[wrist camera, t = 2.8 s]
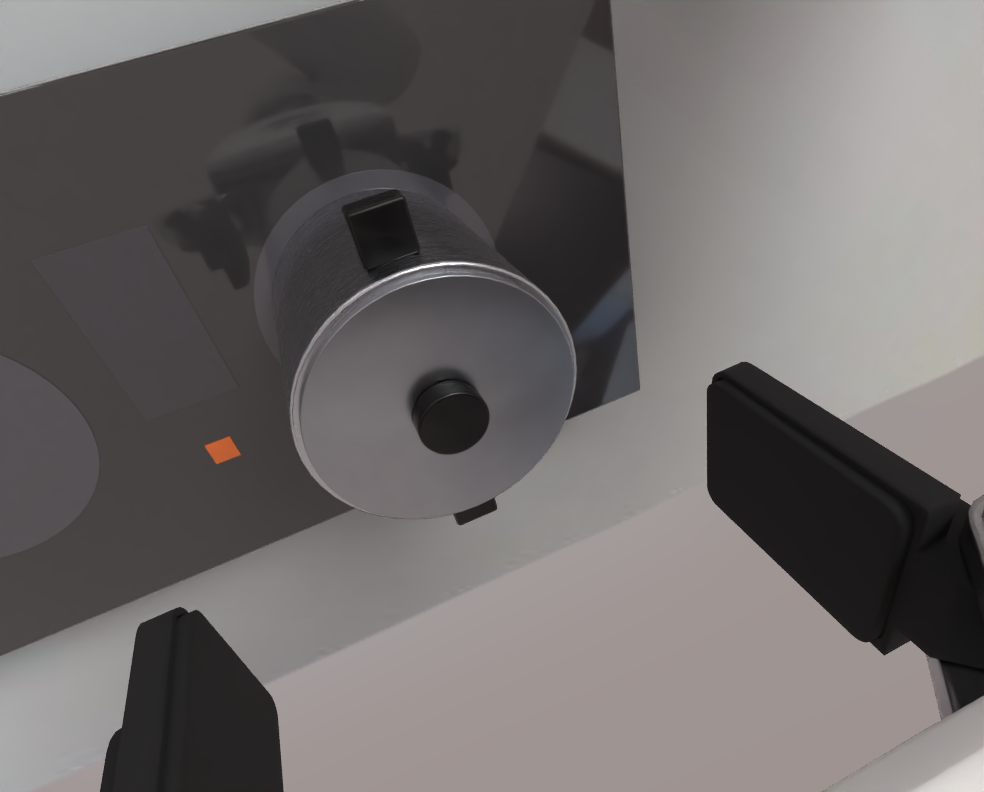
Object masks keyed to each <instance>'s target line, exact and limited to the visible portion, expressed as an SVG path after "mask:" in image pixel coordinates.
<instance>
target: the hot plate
mask: <svg viewBox="0 0 984 792" xmlns="http://www.w3.org/2000/svg"><path fill="white" fill-rule="evenodd" d="M376 189H398V190H402V191H408V192H413V193H416V194H419V195H422V196H425V197H427V198H430V199H432V200H434V201H436V202H438V203H440V204H441V205H443V206H444V207H446V208H447V209H449V210H450V211H451V212H452V213H454V214H455V215H456V216H457V217H458V218H459V219H460V220H462V221H463V222H464V223H465V224H466V225H467V226H468V227H470V228H471V229H472V230H473V231H474V232H475V233H476V234H478V235H479V236H480V237H481V238H482V239H483V240H484V241H486V242H487V243H488V244H489V245H490V246H491V247H492V248H493V249H495V250H496V251H497V252H498V253H499V254H500V255H501V256H503V257H504V258H505V259H506V260H507V261H508V262H509V263H511V264H512V265H513V266H514V267H515V268H516V269H517V270H519V271H520V272H521V273H522V274H523V275H524V276H525V277H527V278H528V279H529V280H530V281H531V282H532V283H533V284H535V285H536V286H537V287H538V288H539V289H540V290H541V291H543V292H544V293H545V294H546V295H547V296H548V297H549V298H550V299H551V301H552V302H553V303H554V304H555V305H556V307H557V308H558V309H559V311H560V313H561V314H562V316H563V318H564V319H565V321H566V323H567V326H568V328H569V331H570V333H571V336H572V340H573V344H574V348H575V353H576V366H577V372H576V385H575V390H574V396H573V400H572V403H571V406H570V409H569V412H568V415H567V417H566V420H569V419H571V418H574V417H576V416H578V415H581V414H583V413H586V412H588V411H590V410H593V409H595V408H598V407H600V406H602V405H605V404H607V403H610V402H612V401H614V400H617V399H619V398H622V397H624V396H626V395H629V394H631V393H634V392H636V391H638V390H640V381H639V368H638V355H637V342H636V329H635V315H634V302H633V289H632V276H631V263H630V250H629V237H628V224H627V211H626V197H625V184H624V171H623V158H622V145H621V132H620V119H619V106H618V93H617V79H616V66H615V53H614V40H613V27H612V14H611V1H610V0H346V1H342V2H339V3H335V4H331V5H327V6H324V7H320V8H316V9H312V10H309V11H305V12H301V13H297V14H293V15H290V16H286V17H282V18H278V19H275V20H271V21H267V22H263V23H260V24H256V25H252V26H248V27H245V28H241V29H237V30H233V31H230V32H226V33H222V34H218V35H214V36H211V37H207V38H203V39H199V40H196V41H192V42H188V43H184V44H181V45H177V46H173V47H169V48H166V49H162V50H158V51H154V52H151V53H147V54H143V55H139V56H135V57H132V58H128V59H124V60H120V61H117V62H113V63H109V64H105V65H102V66H98V67H94V68H90V69H87V70H83V71H79V72H75V73H72V74H68V75H64V76H60V77H56V78H53V79H49V80H45V81H41V82H38V83H34V84H30V85H26V86H23V87H19V88H15V89H11V90H8V91H4V92H0V656H2V655H5V654H7V653H10V652H12V651H14V650H17V649H19V648H22V647H24V646H26V645H29V644H31V643H34V642H36V641H38V640H41V639H43V638H46V637H48V636H50V635H53V634H55V633H58V632H60V631H62V630H65V629H67V628H70V627H72V626H74V625H77V624H79V623H82V622H84V621H86V620H89V619H91V618H94V617H96V616H98V615H101V614H103V613H106V612H108V611H110V610H113V609H115V608H118V607H120V606H122V605H125V604H127V603H130V602H132V601H134V600H137V599H139V598H142V597H144V596H146V595H149V594H151V593H154V592H156V591H158V590H161V589H163V588H166V587H168V586H170V585H173V584H175V583H178V582H180V581H182V580H185V579H187V578H190V577H192V576H194V575H197V574H199V573H202V572H204V571H206V570H209V569H211V568H214V567H216V566H218V565H221V564H223V563H226V562H228V561H230V560H233V559H235V558H238V557H240V556H242V555H245V554H247V553H250V552H252V551H254V550H257V549H259V548H262V547H264V546H266V545H269V544H271V543H274V542H276V541H278V540H281V539H283V538H286V537H288V536H290V535H293V534H295V533H298V532H300V531H302V530H305V529H307V528H310V527H312V526H314V525H317V524H319V523H322V522H324V521H326V520H329V519H331V518H334V517H336V516H338V515H341V514H343V513H346V512H348V511H350V510H353V509H355V508H354V507H351V506H349V505H347V504H345V503H344V502H342V501H340V500H339V499H337V498H335V497H334V496H333V495H331V494H330V493H329V492H328V491H326V490H325V489H324V488H323V487H321V486H320V485H319V483H318V482H317V481H316V480H315V479H314V478H313V477H312V476H311V475H310V473H309V472H308V470H307V469H306V467H305V466H304V464H303V463H302V461H301V459H300V457H299V455H298V453H297V450H296V448H295V446H294V442H293V438H292V435H291V431H290V425H289V418H288V411H287V403H286V396H285V389H284V382H283V375H282V367H281V360H280V353H279V346H278V339H277V331H276V324H275V317H274V309H273V298H272V296H273V282H274V277H275V272H276V268H277V265H278V263H279V260H280V257H281V254H282V253H283V251H284V249H285V247H286V245H287V243H288V241H289V240H290V239H291V237H292V236H293V235H294V233H295V232H296V231H297V229H298V228H299V227H300V226H301V225H302V224H303V223H304V222H305V221H306V220H307V219H308V218H309V217H310V216H312V215H313V214H314V213H316V212H317V211H318V210H320V209H321V208H322V207H324V206H326V205H328V204H330V203H331V202H333V201H335V200H337V199H340V198H342V197H345V196H347V195H350V194H354V193H358V192H362V191H367V190H376ZM566 420H565V421H566Z"/></svg>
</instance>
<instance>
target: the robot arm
mask: <svg viewBox="0 0 984 792" xmlns="http://www.w3.org/2000/svg"><path fill="white" fill-rule="evenodd" d="M707 487H708V492H709V494H710V496H711V498H712V500H713V501H714V503H715V504H716V505H717V506H718V507H719V508H720V509H721V510H722V511H723V512H724V513H725V514H726V515H727V516H728V517H729V518H730V519H731V520H733V521H734V522H735V523H736V524H737V525H738V526H739V527H740V528H741V529H742V530H743V531H744V532H745V533H746V534H747V535H748V536H749V537H750V538H751V539H752V540H753V541H754V542H756V543H757V544H758V545H759V546H760V547H761V548H762V549H763V550H764V551H765V552H766V553H767V554H768V555H769V556H770V557H771V558H772V559H773V560H774V561H775V562H777V564H778V565H780V566H781V567H782V568H783V569H784V570H785V571H786V572H787V573H788V574H789V575H790V576H791V577H792V578H793V579H794V580H795V581H796V582H797V583H798V584H799V585H800V586H801V587H803V588H804V589H805V590H806V591H807V592H808V593H809V594H810V595H811V596H812V597H813V598H814V599H815V600H816V601H817V602H818V603H819V604H820V605H821V606H822V607H823V608H824V609H826V611H828V612H829V613H830V614H831V615H832V616H833V617H834V618H835V619H836V620H837V621H838V622H839V623H840V624H841V625H842V626H843V627H844V628H846V630H848V632H850V634H852V635H853V636H854V637H855V638H857V639H858V640H860V641H862V642H870V643H872V644H873V645H874V646H875V647H876V648H877V649H878V650H879V651H880V652H881V653H882V654H883V655H886V654H888V653H889V652H891V651H893V650H895V649H896V648H898V647H900V646H902V645H903V644H905V643H907V642H909V641H910V640H911V641H912V642H913V643H914V644H915V645H916V646H918V647H919V648H920V649H921V650H922V651H923V652H924V653H925V654H926V657H927V661H928V665H929V670H930V674H931V678H932V683H933V687H934V691H935V696H936V700H937V704H938V708H939V713H940V717H941V720H940V721H939V722H937V723H935V724H933V725H932V726H930V727H928V728H926V729H925V730H923V731H922V732H920V733H918V734H916V735H915V736H913V737H911V738H910V739H908V740H907V741H905V742H903V743H901V744H900V745H898V746H896V747H895V748H893V749H892V750H890V751H888V752H887V753H885V754H883V755H882V756H880V757H878V758H877V759H875V760H873V761H872V762H870V763H868V764H867V765H865V766H863V767H862V768H860V769H859V770H857V771H855V772H853V773H852V774H850V775H849V776H847V777H845V778H843V779H842V780H840V781H838V782H837V783H835V784H833V785H832V786H830V787H828V788H827V789H825V790H823V791H822V792H984V495H982V496H981V497H979V498H978V499H976V500H975V501H973V503H972V505H969V504H968V503H966V502H964V501H963V500H961V499H960V496H961V495H960V494H959V493H957V492H956V491H954V490H952V489H951V488H949V487H948V486H946V485H944V484H943V483H941V482H940V481H938V480H936V479H935V478H933V477H931V476H930V475H928V474H927V473H925V472H924V471H922V470H920V469H919V468H917V467H915V466H914V465H912V464H911V463H909V462H908V461H906V460H904V459H903V458H901V457H900V456H898V455H896V454H895V453H893V452H891V451H890V450H888V449H887V448H885V447H883V446H882V445H880V444H879V443H877V442H875V441H874V440H872V439H871V438H869V437H867V436H866V435H864V434H863V433H861V432H859V431H858V430H856V429H855V428H853V427H852V426H850V425H848V424H847V423H845V422H844V421H842V420H840V419H839V418H837V417H836V416H834V415H832V414H831V413H829V412H828V411H826V410H824V409H823V408H821V407H820V406H818V405H816V404H815V403H813V402H812V401H810V400H808V399H807V398H805V397H804V396H802V395H800V394H799V393H797V392H796V391H794V390H792V389H791V388H789V387H788V386H786V385H784V384H783V383H781V382H780V381H778V380H776V379H775V378H773V377H772V376H770V375H768V374H767V373H765V372H764V371H762V370H760V369H759V368H757V367H756V366H754V365H752V364H750V363H748V362H741V363H739V364H736V365H734V366H732V367H730V368H727V369H725V370H723V371H720V372H718V373H716V374H715V375H714V376H713V379H712V384H710V385H709V386H708V388H707ZM100 792H283V779H282V766H281V752H280V739H279V726H278V715H277V710H276V706H275V703H274V701H273V699H272V697H271V695H270V694H269V693H268V691H267V690H266V689H265V688H264V687H263V685H262V684H261V683H260V682H259V681H258V679H257V678H256V677H255V676H254V675H253V674H252V672H251V671H250V670H249V669H248V668H247V666H246V665H245V664H244V663H243V662H242V661H241V659H240V658H239V657H238V656H237V655H236V653H235V652H234V651H233V650H232V649H231V647H230V646H229V645H228V644H227V643H226V642H225V640H224V639H223V638H222V637H221V636H220V634H219V633H218V632H217V631H216V630H215V629H214V627H213V626H212V625H211V624H210V623H209V621H208V620H207V619H206V618H205V617H204V616H203V614H202V613H201V612H200V611H197V610H195V611H192V612H190V613H188V612H187V611H186V610H185V609H184V608H181V607H178V608H176V609H173V610H171V611H169V612H166V613H164V614H162V615H160V616H157V617H155V618H153V619H150V620H148V621H146V622H143V623H141V624H140V626H139V627H138V629H137V633H136V638H135V645H134V652H133V658H132V665H131V672H130V678H129V685H128V692H127V698H126V705H125V712H124V718H123V725H122V728H121V729H119V730H118V731H116V732H115V734H114V735H113V737H112V738H111V740H110V742H109V746H108V749H107V753H106V759H105V765H104V771H103V777H102V783H101V789H100Z"/></svg>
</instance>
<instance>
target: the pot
mask: <svg viewBox="0 0 984 792" xmlns="http://www.w3.org/2000/svg"><path fill="white" fill-rule="evenodd" d="M272 298H273V309H274V317H275V324H276V331H277V339H278V346H279V353H280V360H281V367H282V375H283V382H284V389H285V396H286V403H287V411H288V418H289V425H290V431H291V435H292V438H293V442H294V446H295V448H296V450H297V453H298V455H299V457H300V459H301V461H302V463H303V464H304V466H305V467H306V469H307V470H308V472H309V473H310V475H311V476H312V477H313V478H314V479H315V480H316V481H317V482H318V483H319V485H320V486H321V487H323V488H324V489H325V490H326V491H328V492H329V493H330V494H331V495H333V496H334V497H335V498H337V499H339V500H340V501H342V502H344V503H345V504H347V505H349V506H351V507H354V508H356V509H359V510H361V511H363V512H367V513H371V514H374V515H378V516H383V517H390V518H400V519H425V518H435V517H441V516H447V515H451V514H453V515H454V517H455V520H456V522H457V524H458V525H463V524H465V523H467V522H470V521H472V520H474V519H477V518H479V517H481V516H484V515H486V514H488V513H490V512H493V511H495V510H496V509H497V504H496V500H495V497H496V496H497V495H499V494H501V493H502V492H504V491H506V490H507V489H509V488H510V487H511V486H513V485H514V484H515V483H517V482H518V481H519V480H520V479H522V478H523V477H524V476H525V475H526V474H527V473H528V472H529V471H530V470H532V468H533V467H534V466H535V465H536V464H537V463H538V462H539V461H540V460H541V459H542V457H543V456H544V455H545V453H546V452H547V451H548V449H549V448H550V447H551V445H552V444H553V442H554V440H555V439H556V437H557V435H558V434H559V432H560V430H561V428H562V426H563V424H564V422H565V420H566V417H567V415H568V412H569V409H570V406H571V403H572V400H573V396H574V390H575V385H576V372H577V366H576V353H575V348H574V344H573V340H572V336H571V333H570V331H569V328H568V326H567V323H566V321H565V319H564V318H563V316H562V314H561V313H560V311H559V309H558V308H557V307H556V305H555V304H554V303H553V302H552V301H551V299H550V298H549V297H548V296H547V295H546V294H545V293H544V292H543V291H541V290H540V289H539V288H538V287H537V286H536V285H535V284H533V283H532V282H531V281H530V280H529V279H528V278H527V277H525V276H524V275H523V274H522V273H521V272H520V271H519V270H517V269H516V268H515V267H514V266H513V265H512V264H511V263H509V262H508V261H507V260H506V259H505V258H504V257H503V256H501V255H500V254H499V253H498V252H497V251H496V250H495V249H493V248H492V247H491V246H490V245H489V244H488V243H487V242H486V241H484V240H483V239H482V238H481V237H480V236H479V235H478V234H476V233H475V232H474V231H473V230H472V229H471V228H470V227H468V226H467V225H466V224H465V223H464V222H463V221H462V220H460V219H459V218H458V217H457V216H456V215H455V214H454V213H452V212H451V211H450V210H449V209H447V208H446V207H444V206H443V205H441V204H440V203H438V202H436V201H434V200H432V199H430V198H427V197H425V196H422V195H419V194H416V193H413V192H408V191H402V190H398V189H376V190H367V191H362V192H358V193H354V194H350V195H347V196H345V197H342V198H340V199H337V200H335V201H333V202H331V203H330V204H328V205H326V206H324V207H322V208H321V209H320V210H318V211H317V212H316V213H314V214H313V215H312V216H310V217H309V218H308V219H307V220H306V221H305V222H304V223H303V224H302V225H301V226H300V227H299V228H298V229H297V231H296V232H295V233H294V235H293V236H292V237H291V239H290V240H289V241H288V243H287V245H286V247H285V249H284V251H283V253H282V254H281V257H280V260H279V263H278V265H277V268H276V272H275V277H274V282H273V296H272Z"/></svg>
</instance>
